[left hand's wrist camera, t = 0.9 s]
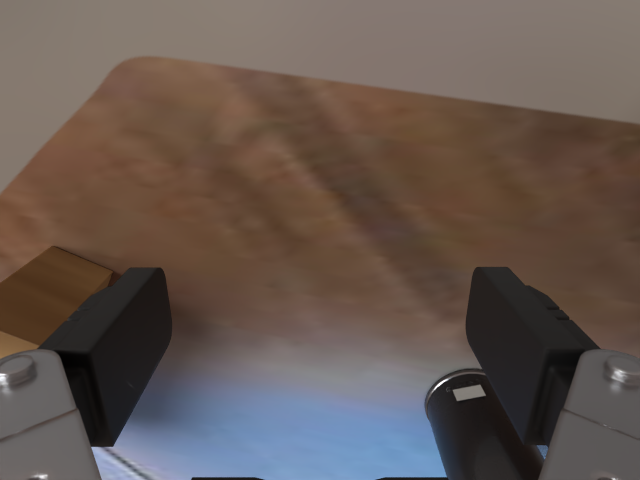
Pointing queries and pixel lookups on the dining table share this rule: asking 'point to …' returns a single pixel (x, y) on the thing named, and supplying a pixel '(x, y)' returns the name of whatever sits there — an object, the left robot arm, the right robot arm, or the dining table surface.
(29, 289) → the box
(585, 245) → the dining table surface
